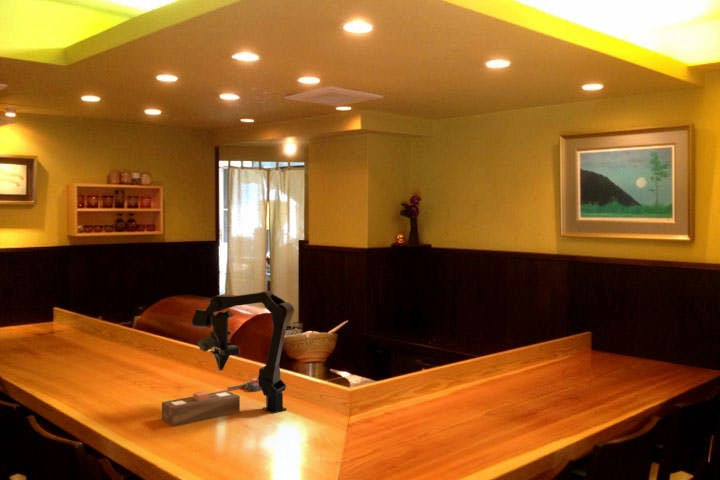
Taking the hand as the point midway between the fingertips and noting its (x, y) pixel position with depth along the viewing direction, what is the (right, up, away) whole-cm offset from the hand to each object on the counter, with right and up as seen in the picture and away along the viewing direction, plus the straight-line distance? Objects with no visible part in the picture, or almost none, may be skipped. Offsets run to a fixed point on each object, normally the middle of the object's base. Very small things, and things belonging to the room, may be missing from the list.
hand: (220, 370), depth 259 cm
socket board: (-4, -14, -13) cm, 19 cm away
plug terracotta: (-4, -11, -13) cm, 18 cm away
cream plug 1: (-11, -13, -19) cm, 25 cm away
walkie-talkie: (+9, -12, +23) cm, 28 cm away
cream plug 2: (+2, -13, -8) cm, 15 cm away
